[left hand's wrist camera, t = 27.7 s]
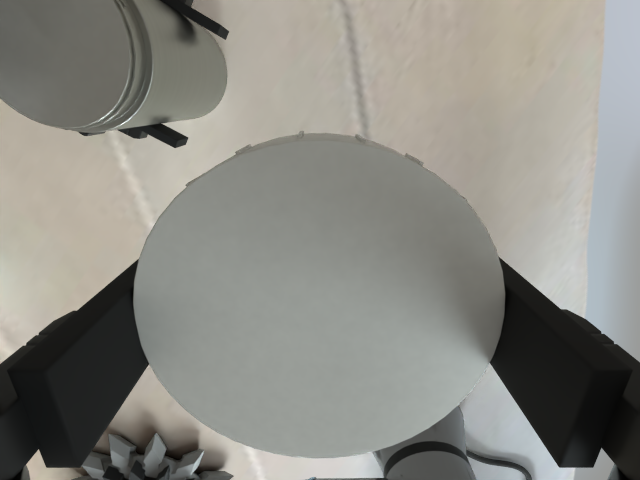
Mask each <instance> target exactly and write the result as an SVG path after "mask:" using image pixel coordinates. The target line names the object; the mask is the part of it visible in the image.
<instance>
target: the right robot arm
mask: <svg viewBox="0 0 640 480" xmlns="http://www.w3.org/2000/svg"><path fill="white" fill-rule="evenodd" d="M160 1H162V2H163V3H165V4H166V5H168V6H169V7H171V8H173V9H174V10H176V11H177V12H179V13H181V14H182V15H184V16H186V17H187V18H189V19H191V20H193V21H194V22H196V23H198V24H199V25H201V26H203V27H205V28H206V29H208V30H210V31H211V32H213V33H215V34H217V35H218V36H220V37H222V38H223V39H225V40H226V38H227V35H228V33H229V31H228V30H227V29H225V28H224V27H223V26H221V25H220V24H218V23H216V22H215V21H213V20H211V19H210V18H208V17H206V16H204V15H203V14H201V13H199V12H198V11H196V10H194V9H193V8H191V6H192V3H193V0H160ZM118 130H119V131H121V132H123V133H125V134H127V135H129V136H131V137H133V138H137V139H141V138H146V137H147V135H148V134H149V135H151V136H153V137H154V138H156V139H158V140H160V141H162V142H164V143H166V144H168V145H170V146H172V147H174V148H177V147H180V146H183V145H186V142H187V140H188V137H186V136H184V135H182V134H180V133H178V132H176V131H174V130H173V129H171V128H169V127H167V126H165V125H163V124H161V123H160V124H153V125H146V126H139V127H132V128H125V129H118ZM105 132H106V131H105ZM105 132H95V133H87V132H79V133H80V134H82V135H84V136H90V135H97V134H102V133H105Z"/></svg>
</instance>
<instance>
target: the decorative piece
mask: <svg viewBox="0 0 640 480" xmlns="http://www.w3.org/2000/svg"><path fill="white" fill-rule="evenodd" d="M108 437H109V445H110V452H111V456H108V455H104V454H100V453H96V452H92V451H91V452H90V454H89V455H88V457H87V458H86V460H85V461H84V463H83V464H82V467H83V468H84V469H85V470H86V471H87V472H88V473H89V474H90V475H88V476H81V477H78V478H75V479H72V480H229V479H231V478H232V477H233V475H231V474H229V473H227V472H225V471H203V472H202V473H200V474H198V475H197V474H196V473H195V472H194V471H195V470H196V468H197V467H198V466H199V464H200V461H201V458H202V455H203V453H204V450H201V449H199V450H196V451H193V452H190V453H187V454H184V455H183V456H182V459H181V460H175V459H172V458H170V457H167V456H165V451H166V449H167V447H166V445H165V444H164V442H163V441H162V439H161V438H160V436H159V435H158V434H157V433H155V435H154V436H153V438H152V439H151V441H150V442H149V444H148V445H147V447H146V450H145V454H144V455H139V454H138V453H136V452H135V451H136V446H135V445H133V444H131V443H130V442H128V441H127V440H125V439H123V438H122V437H120V436H119V435H113V434H108Z"/></svg>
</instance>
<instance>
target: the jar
mask: <svg viewBox="0 0 640 480" xmlns="http://www.w3.org/2000/svg"><path fill="white" fill-rule="evenodd" d="M226 84H227V67H226V62H225V59H224V56H223V53H222V51H221V49H220V47H219V45H218V43H217V42H216V41H215V39H214V38H213V37H212V36H211V35H210V33H209V32H207V31H206V30H205V29H204V28H203V27H201V26H200V25H198V24H197V23H195V22H194V21H192V20H190V19H189V18H187V17H186V16H184V15H182V14H181V13H179V12H177V11H176V10H174V9H173V8H171V7H169V6H168V5H166V4H165V3H163V2H162V1H160V0H0V98H1V99H2V100H3V101H4V102H5V103H6V104H8V105H9V106H10V107H12V108H13V109H15V110H16V111H17V112H19V113H21V114H22V115H24V116H26V117H28V118H30V119H32V120H34V121H36V122H39V123H42V124H45V125H48V126H52V127H57V128H61V129H65V130H72V131H78V132H87V133H95V132H105V131H112V130H118V129H125V128H132V127H139V126H146V125H153V124H160V123H167V122H174V121H181V120H188V119H195V118H199V117H202V116H204V115H206V114H208V113H209V112H211V111H212V110H213V109H214V108H215V107H216V106H217V105H218V104H219V102H220V101H221V99H222V97H223V95H224V92H225V89H226Z"/></svg>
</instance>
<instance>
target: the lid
mask: <svg viewBox="0 0 640 480" xmlns="http://www.w3.org/2000/svg"><path fill="white" fill-rule="evenodd" d="M235 153H236V155H234V156H232V157H231V158H229V159H227V160H225V161H224V162H222V163H220V164H218V165H217V166H215V167H214V168H212V169H211V170H209V171H208V172H206V173H204V174H202V175H201V176H199V177H197V178H195V179H194V180H192V181H190V182H189V183H187V184H186V186H187V187H186V188H185V189H184V190H183V191H182V192H181V193H180V194H179V195H177V196H176V197H175V198H174V200H173V201H172V202H171V203H170V204H169V206H168V207H167V208H166V209H165V211H164V212H163V213H162V214H161V215H160V217H159V218H158V220H157V222H156V223H155V225H154V227H153V229H152V230H151V232H150V234H149V235H148V237H147V239H146V242H145V244H144V247H143V250H142V252H141V255H140V257H139V261H138V265H137V270H136V275H135V279H134V293H133V307H134V315H135V321H136V325H137V330H138V334H139V338H140V342H141V346H142V349H143V351H144V353H145V356H146V358H147V361H148V363H149V364H150V366H151V368H152V369H153V371H154V373H155V375H156V376H157V378H158V380H159V381H160V382H161V383H162V385H163V386H164V387H165V389H166V390H167V391H168V392H169V394H170V395H171V396H172V397H173V398H174V399H175V400H176V401H177V402H178V403H179V404H180V405H181V406H182V407H183V408H184V409H185V410H186V411H187V412H189V413H190V414H191V415H193V416H194V417H195V418H196V419H198V420H199V421H200V422H202V423H203V424H205V425H206V426H208V427H209V428H211V429H213V430H214V431H216V432H217V433H219V434H221V435H223V436H226V437H228V438H230V439H232V440H234V441H236V442H238V443H241V444H244V445H246V446H249V447H252V448H255V449H258V450H262V451H266V452H270V453H273V454H279V455H285V456H291V457H302V458H338V457H347V456H355V455H359V454H364V453H369V452H374V451H377V450H380V449H383V448H386V447H390V446H393V445H395V444H397V443H400V442H402V441H405V440H407V439H409V438H411V437H413V436H415V435H417V434H419V433H421V432H422V431H424V430H426V429H428V428H429V427H431V426H432V425H434V424H435V423H437V422H438V421H439V420H441V419H442V418H444V417H445V416H446V415H447V414H449V413H450V412H451V411H452V410H453V409H454V408H455V407H457V406H458V405H459V404H460V403H461V402H462V401H463V400H464V398H465V397H466V396H467V395H468V394H469V393H470V392H471V391H472V390H473V388H474V387H475V385H476V384H477V383H478V381H479V380H480V378H481V377H482V375H483V374H484V373H485V371H486V369H487V367H488V365H489V363H490V361H491V359H492V357H493V355H494V353H495V350H496V347H497V344H498V341H499V338H500V335H501V330H502V325H503V320H504V314H505V287H504V279H503V271H502V268H501V264H500V261H499V257H498V254H497V250H496V248H495V246H494V244H493V242H492V239H491V237H490V235H489V233H488V231H487V229H486V227H485V226H484V224H483V223H482V221H481V220H480V218H479V217H478V216H477V214H476V213H475V211H474V210H473V208H472V207H471V206H470V205H469V204H468V203H467V200H466V199H465V198H464V197H462V196H461V195H460V194H459V193H458V192H457V191H456V190H455V189H453V188H452V187H451V186H450V185H448V184H447V183H446V182H445V181H443V180H442V179H441V178H440V177H438V176H437V175H436V174H434V173H433V172H431V171H429V170H428V169H426V168H424V167H422V165H423V164H424V163H423V162H421V161H420V160H418V159H416V158H414V157H412V156H410V155H408V154H406V155H405V156H404V155H402V154H400V153H398V152H397V151H395V150H393V149H390V148H388V147H385V146H383V145H380V144H378V143H376V142H373V141H369V140H366V139H364V138H363V137H361V136H360V135H358V134H356V135H355V137H353V136H348V135H339V134H330V133H311V134H304V131H300V132H299V134H298V135H292V136H286V137H280V138H276V139H273V140H270V141H267V142H263V143H260V144H257V145H255V146H253V147H251V145H247V146H246V147H244V148H242V149H240V150H238V151H236V152H235ZM410 159H411V160H410Z"/></svg>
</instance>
